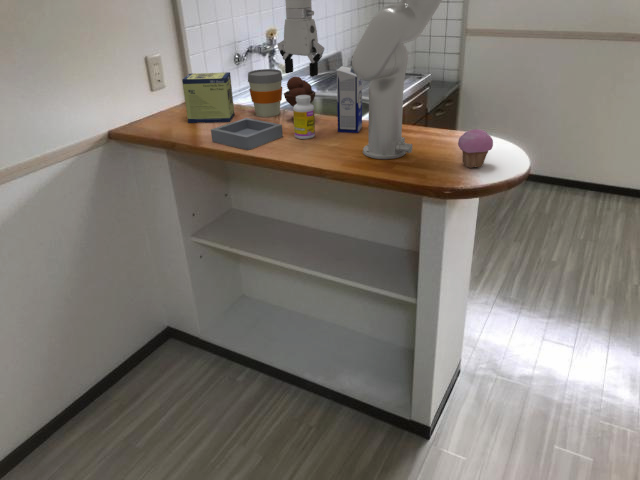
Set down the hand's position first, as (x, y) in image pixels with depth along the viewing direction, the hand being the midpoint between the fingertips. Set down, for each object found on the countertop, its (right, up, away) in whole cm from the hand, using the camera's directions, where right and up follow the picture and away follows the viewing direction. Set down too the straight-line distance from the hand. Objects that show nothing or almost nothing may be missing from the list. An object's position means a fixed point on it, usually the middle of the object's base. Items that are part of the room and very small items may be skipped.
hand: (301, 74), depth 166 cm
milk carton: (+16, -14, +14) cm, 26 cm away
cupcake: (+47, -31, -20) cm, 60 cm away
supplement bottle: (+1, -18, +9) cm, 20 cm away
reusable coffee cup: (-14, -4, +36) cm, 39 cm away
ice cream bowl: (-1, -8, +27) cm, 28 cm away
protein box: (-34, -7, +32) cm, 47 cm away
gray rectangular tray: (-18, -18, +8) cm, 27 cm away
